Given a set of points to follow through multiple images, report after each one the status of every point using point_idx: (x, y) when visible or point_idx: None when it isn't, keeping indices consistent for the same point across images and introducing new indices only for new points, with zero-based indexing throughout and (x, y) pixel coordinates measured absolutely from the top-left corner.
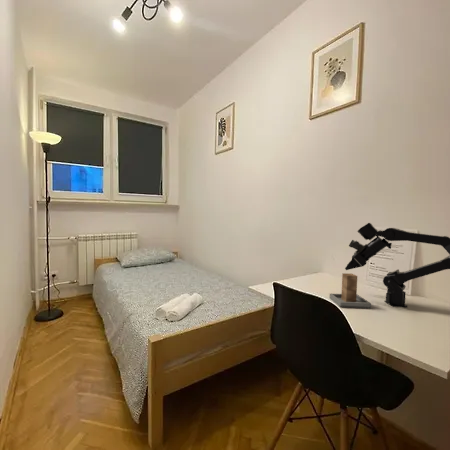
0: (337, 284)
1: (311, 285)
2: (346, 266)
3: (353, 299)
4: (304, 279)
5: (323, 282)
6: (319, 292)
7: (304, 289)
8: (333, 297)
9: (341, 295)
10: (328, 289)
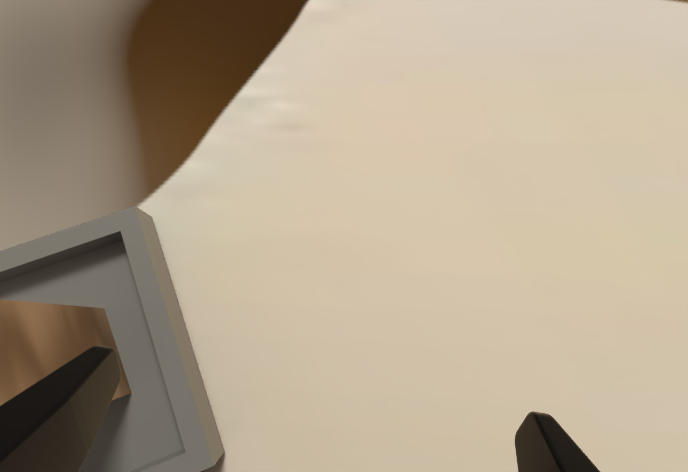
0: (653, 296)
1: (480, 80)
2: (60, 384)
3: None
4: (646, 21)
5: (645, 173)
6: (295, 143)
7: (326, 34)
8: (46, 238)
9: (84, 307)
10: (428, 214)
